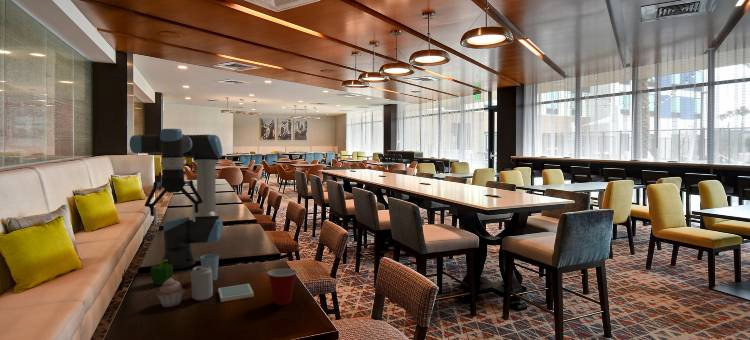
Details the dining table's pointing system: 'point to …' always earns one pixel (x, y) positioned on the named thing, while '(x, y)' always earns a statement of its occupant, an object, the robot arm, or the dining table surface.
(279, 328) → the dining table surface
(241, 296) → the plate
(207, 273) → the can
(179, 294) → the cupcake
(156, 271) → the bell pepper
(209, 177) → the robot arm
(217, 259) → the cup
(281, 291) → the plastic cup
